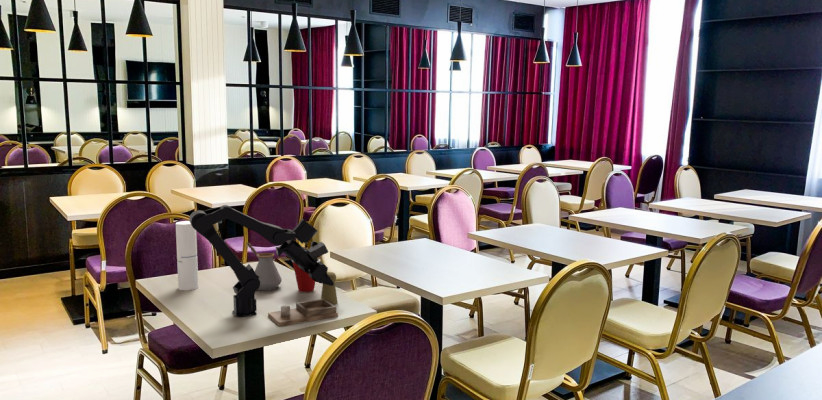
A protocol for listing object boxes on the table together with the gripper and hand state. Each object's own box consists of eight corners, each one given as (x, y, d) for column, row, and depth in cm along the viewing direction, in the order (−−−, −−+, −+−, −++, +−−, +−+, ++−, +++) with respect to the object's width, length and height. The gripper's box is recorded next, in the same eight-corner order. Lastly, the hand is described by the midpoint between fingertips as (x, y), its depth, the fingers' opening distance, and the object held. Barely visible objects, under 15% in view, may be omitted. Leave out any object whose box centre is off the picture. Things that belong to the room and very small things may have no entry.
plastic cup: (325, 287, 240) (325, 256, 239) (313, 295, 230) (313, 263, 228) (299, 284, 243) (299, 254, 241) (286, 292, 233) (286, 261, 231)
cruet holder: (279, 326, 197) (278, 313, 196) (268, 316, 206) (267, 303, 206) (337, 316, 207) (337, 304, 206) (324, 307, 216) (324, 295, 216)
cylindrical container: (194, 290, 234) (191, 224, 231) (175, 290, 234) (172, 224, 231) (201, 285, 241) (198, 221, 238) (182, 284, 241) (179, 220, 238)
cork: (334, 306, 217) (334, 275, 216) (317, 305, 219) (317, 274, 217) (339, 301, 223) (339, 271, 222) (323, 300, 224) (323, 270, 223)
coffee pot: (287, 288, 238) (286, 249, 236) (259, 293, 231) (258, 254, 229) (261, 276, 255) (260, 240, 252) (234, 281, 247) (233, 244, 245)
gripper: (321, 241, 207) (353, 270, 213) (306, 230, 224) (336, 258, 230) (298, 266, 205) (331, 295, 211) (284, 254, 221) (315, 281, 228)
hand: (329, 281), depth 220 cm, fingers open, 9 cm apart
